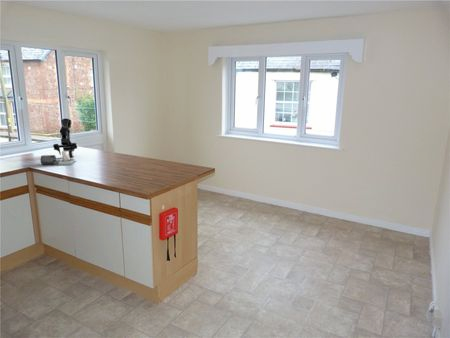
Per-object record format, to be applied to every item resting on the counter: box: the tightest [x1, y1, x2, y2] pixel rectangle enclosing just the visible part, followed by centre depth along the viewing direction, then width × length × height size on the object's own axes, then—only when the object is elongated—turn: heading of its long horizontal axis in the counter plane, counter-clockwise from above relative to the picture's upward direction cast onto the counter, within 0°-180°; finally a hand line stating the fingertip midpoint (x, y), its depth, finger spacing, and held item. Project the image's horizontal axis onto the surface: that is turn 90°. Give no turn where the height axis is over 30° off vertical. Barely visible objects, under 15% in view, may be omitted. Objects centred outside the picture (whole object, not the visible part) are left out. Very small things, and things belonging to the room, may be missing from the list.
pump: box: [61, 150, 71, 162], centre depth 295 cm, size 6×6×10 cm
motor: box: [40, 154, 77, 167], centre depth 295 cm, size 12×26×8 cm, turn 98°
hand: (65, 154), depth 293 cm, fingers open, 8 cm apart
